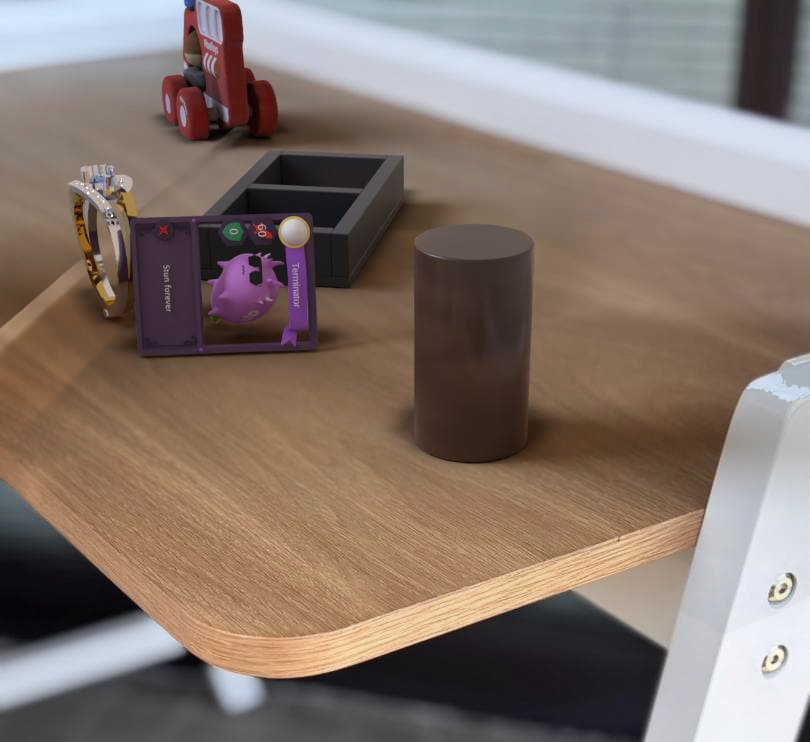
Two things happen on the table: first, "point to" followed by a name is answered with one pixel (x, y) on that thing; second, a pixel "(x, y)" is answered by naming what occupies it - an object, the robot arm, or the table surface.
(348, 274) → the grid
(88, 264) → the ring
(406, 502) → the table surface
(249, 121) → the toy fire truck
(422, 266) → the brown wooden cylinder
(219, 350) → the game card
